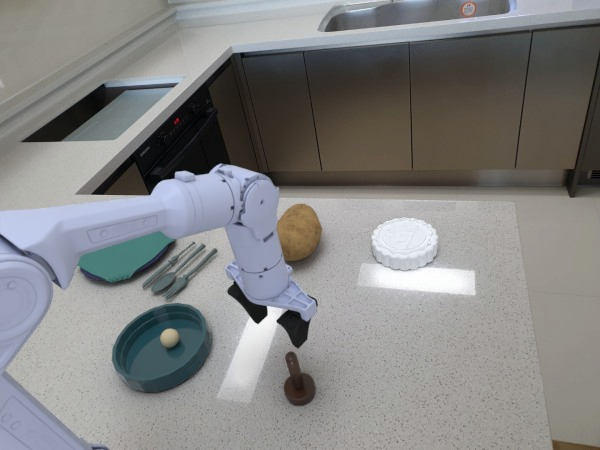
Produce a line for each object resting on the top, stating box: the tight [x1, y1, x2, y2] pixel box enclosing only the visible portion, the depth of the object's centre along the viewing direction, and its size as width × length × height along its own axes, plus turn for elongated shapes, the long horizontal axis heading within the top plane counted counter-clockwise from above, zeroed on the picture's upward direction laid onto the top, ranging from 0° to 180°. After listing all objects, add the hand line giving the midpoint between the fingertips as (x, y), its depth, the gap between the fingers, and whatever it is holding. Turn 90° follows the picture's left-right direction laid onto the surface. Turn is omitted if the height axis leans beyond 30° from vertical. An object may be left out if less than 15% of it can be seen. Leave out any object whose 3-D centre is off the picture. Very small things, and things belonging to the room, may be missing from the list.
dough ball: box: [160, 329, 179, 348], centre depth 75 cm, size 3×3×3 cm
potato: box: [277, 203, 323, 262], centre depth 88 cm, size 10×14×8 cm
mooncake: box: [370, 216, 439, 272], centre depth 85 cm, size 12×12×4 cm
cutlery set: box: [77, 231, 218, 300], centre depth 96 cm, size 20×30×2 cm, turn 56°
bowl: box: [111, 302, 213, 393], centre depth 74 cm, size 15×15×4 cm
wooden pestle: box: [283, 350, 317, 407], centre depth 63 cm, size 4×4×9 cm
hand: (280, 330), depth 64 cm, fingers open, 7 cm apart
